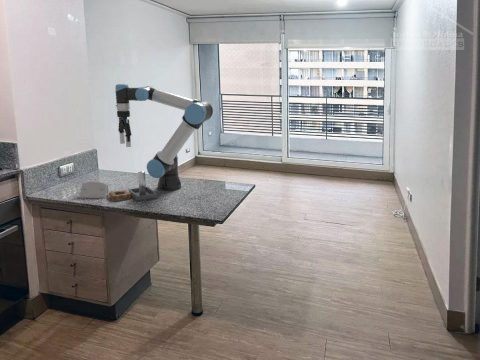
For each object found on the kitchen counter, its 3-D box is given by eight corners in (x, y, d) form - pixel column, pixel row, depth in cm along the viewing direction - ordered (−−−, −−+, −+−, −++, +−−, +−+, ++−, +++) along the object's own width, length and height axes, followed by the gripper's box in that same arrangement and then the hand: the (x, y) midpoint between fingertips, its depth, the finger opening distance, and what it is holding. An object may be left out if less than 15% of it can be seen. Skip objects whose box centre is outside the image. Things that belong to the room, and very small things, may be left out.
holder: (126, 194, 279) (125, 189, 278) (130, 198, 270) (130, 194, 269) (109, 197, 274) (109, 192, 273) (113, 201, 265) (113, 196, 265)
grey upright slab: (78, 197, 273) (79, 180, 274) (81, 197, 278) (82, 181, 279) (106, 197, 272) (107, 181, 273) (109, 198, 277) (109, 181, 278)
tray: (147, 191, 286) (147, 186, 285) (157, 198, 271) (157, 193, 270) (128, 193, 280) (128, 189, 280) (137, 201, 265) (137, 196, 264)
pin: (145, 193, 278) (143, 171, 274) (147, 195, 275) (145, 172, 271) (138, 194, 276) (137, 171, 273) (140, 196, 273) (139, 173, 269)
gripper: (111, 108, 284) (114, 142, 290) (122, 112, 263) (125, 149, 269) (123, 108, 288) (126, 141, 293) (135, 111, 267) (137, 147, 272)
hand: (125, 145), depth 281 cm, fingers open, 13 cm apart
